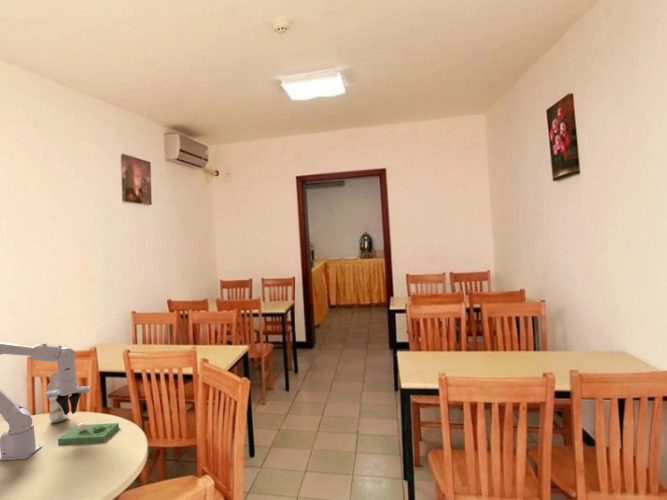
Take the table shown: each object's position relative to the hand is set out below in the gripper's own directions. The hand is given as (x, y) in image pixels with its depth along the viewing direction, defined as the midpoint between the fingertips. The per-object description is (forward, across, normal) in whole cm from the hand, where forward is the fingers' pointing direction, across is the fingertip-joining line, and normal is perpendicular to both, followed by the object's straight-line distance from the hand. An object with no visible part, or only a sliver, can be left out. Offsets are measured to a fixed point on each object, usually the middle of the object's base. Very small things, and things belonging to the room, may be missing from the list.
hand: (70, 413), depth 148 cm
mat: (+9, +6, -1) cm, 11 cm away
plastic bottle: (+10, -12, +17) cm, 23 cm away
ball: (+6, +4, -1) cm, 7 cm away
